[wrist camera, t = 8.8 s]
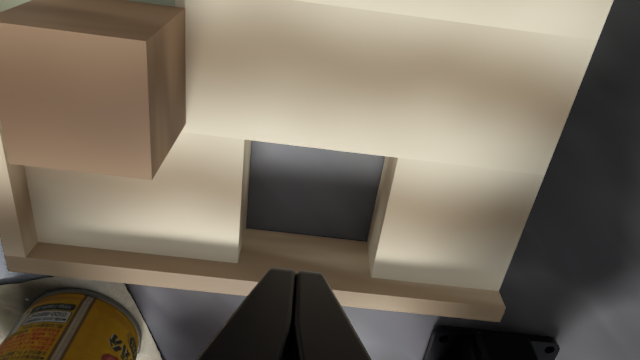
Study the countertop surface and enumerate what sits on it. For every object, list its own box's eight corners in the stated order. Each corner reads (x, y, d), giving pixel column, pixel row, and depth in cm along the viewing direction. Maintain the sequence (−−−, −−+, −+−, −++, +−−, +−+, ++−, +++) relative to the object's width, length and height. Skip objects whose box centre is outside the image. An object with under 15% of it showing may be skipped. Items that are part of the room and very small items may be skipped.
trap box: (478, 267, 24) (500, 322, 21) (49, 221, 23) (8, 271, 20) (644, -196, 15) (721, -216, 12) (-38, -304, 14) (-136, -354, 11)
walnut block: (185, 124, 18) (152, 180, 15) (70, 110, 18) (8, 163, 14) (185, 7, 16) (146, 41, 13) (55, -10, 16) (-20, 19, 12)
